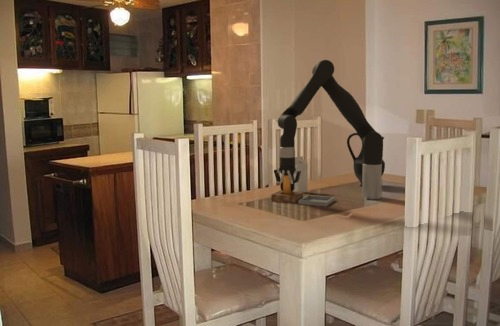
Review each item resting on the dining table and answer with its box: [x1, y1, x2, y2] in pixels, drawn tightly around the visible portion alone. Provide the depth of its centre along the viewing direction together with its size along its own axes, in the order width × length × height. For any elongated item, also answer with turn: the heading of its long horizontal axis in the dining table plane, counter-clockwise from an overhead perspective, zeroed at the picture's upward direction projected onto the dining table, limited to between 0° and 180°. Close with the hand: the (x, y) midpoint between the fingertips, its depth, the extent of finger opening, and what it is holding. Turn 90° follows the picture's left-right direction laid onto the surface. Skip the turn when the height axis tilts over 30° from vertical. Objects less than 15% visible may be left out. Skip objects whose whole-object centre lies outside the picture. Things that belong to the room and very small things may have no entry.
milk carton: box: [293, 155, 308, 193], centre depth 268 cm, size 7×7×19 cm
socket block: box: [270, 189, 304, 204], centre depth 247 cm, size 12×12×4 cm
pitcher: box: [346, 132, 386, 188], centre depth 281 cm, size 17×21×30 cm
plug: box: [283, 175, 292, 195], centre depth 246 cm, size 4×4×10 cm
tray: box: [297, 194, 336, 207], centre depth 241 cm, size 14×14×2 cm
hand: (287, 190), depth 247 cm, fingers closed on plug, 4 cm apart
